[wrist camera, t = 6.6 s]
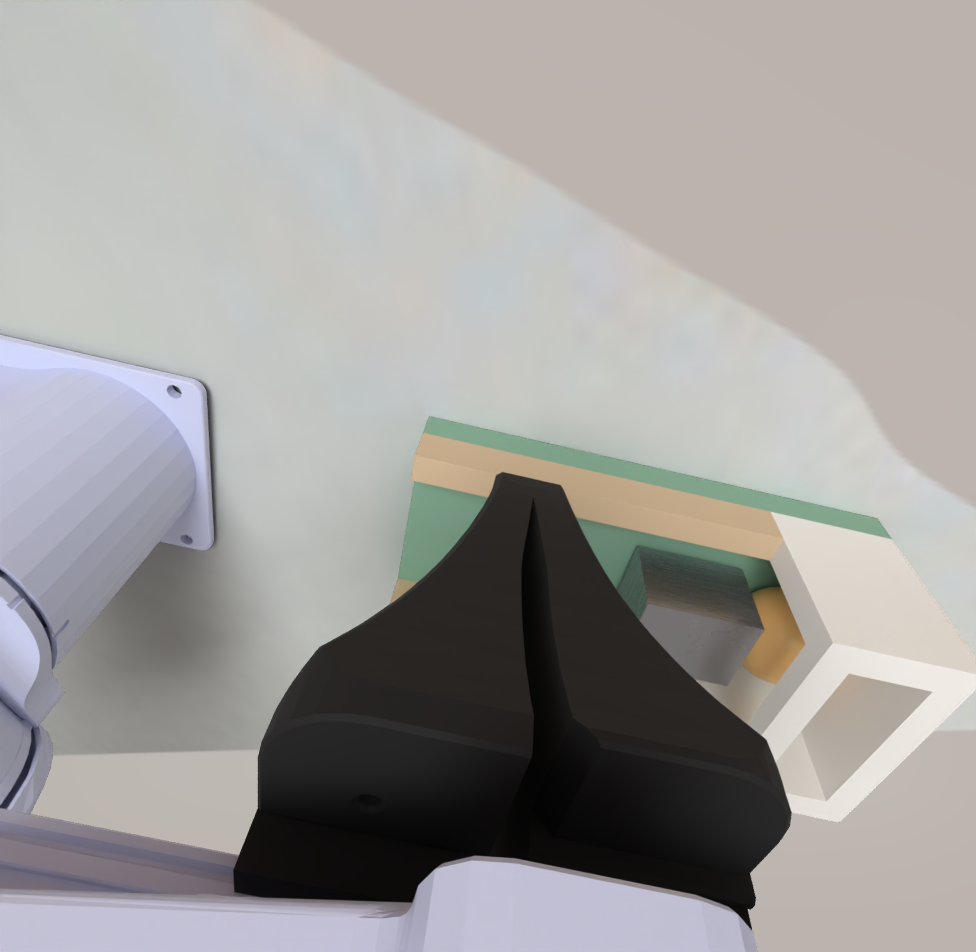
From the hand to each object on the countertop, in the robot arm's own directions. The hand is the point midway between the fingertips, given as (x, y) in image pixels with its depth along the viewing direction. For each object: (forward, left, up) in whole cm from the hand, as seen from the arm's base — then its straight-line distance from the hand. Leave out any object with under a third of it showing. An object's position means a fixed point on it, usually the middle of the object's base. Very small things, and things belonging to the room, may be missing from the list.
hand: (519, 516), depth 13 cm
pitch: (+6, -8, -9) cm, 13 cm away
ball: (+11, -8, -6) cm, 15 cm away
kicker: (+8, -7, -8) cm, 13 cm away
